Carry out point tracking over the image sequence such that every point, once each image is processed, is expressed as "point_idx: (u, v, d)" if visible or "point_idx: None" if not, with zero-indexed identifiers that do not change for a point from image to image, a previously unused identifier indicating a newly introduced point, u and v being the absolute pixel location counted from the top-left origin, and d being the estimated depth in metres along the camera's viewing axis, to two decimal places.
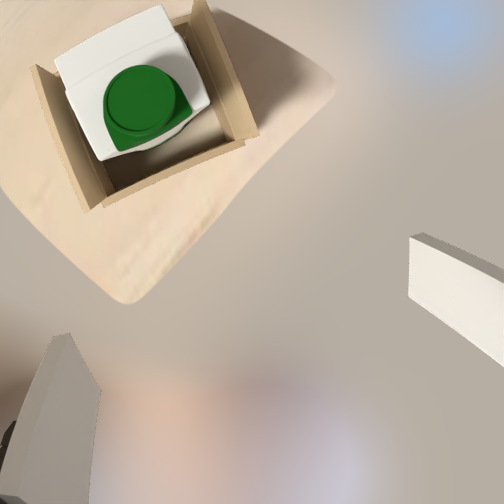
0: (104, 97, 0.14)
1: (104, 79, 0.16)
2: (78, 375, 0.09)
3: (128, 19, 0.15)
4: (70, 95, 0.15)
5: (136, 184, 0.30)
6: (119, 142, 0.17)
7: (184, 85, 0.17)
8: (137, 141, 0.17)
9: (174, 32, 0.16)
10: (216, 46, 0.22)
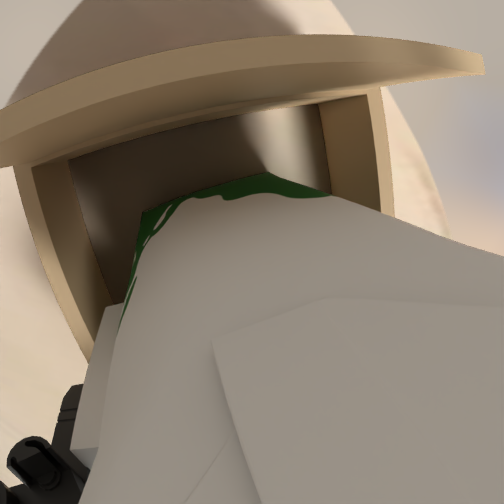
0: None
1: None
2: None
3: None
4: None
5: None
6: None
7: None
8: None
9: None
10: (156, 88, 0.05)
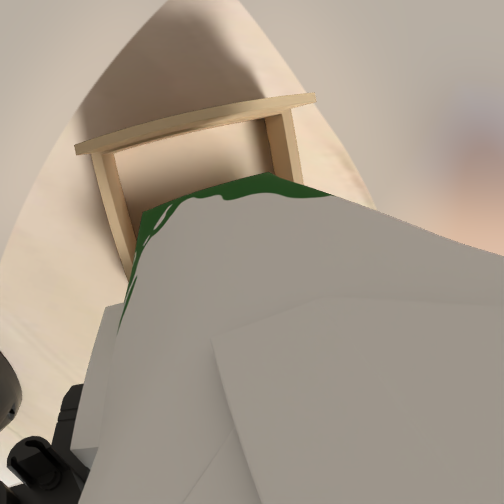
0: None
1: None
2: None
3: None
4: None
5: None
6: None
7: None
8: None
9: None
10: (171, 127, 0.16)
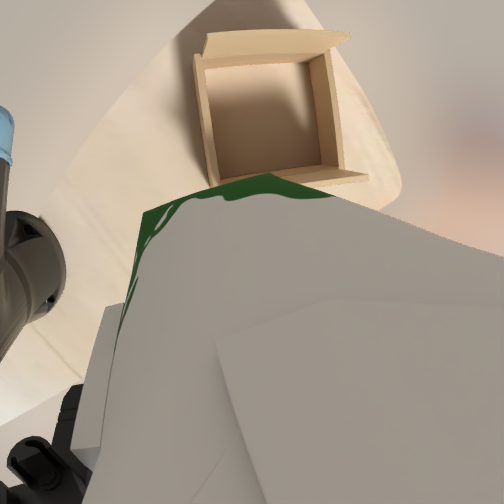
0: None
1: None
2: None
3: None
4: None
5: (337, 139, 0.35)
6: None
7: None
8: None
9: None
10: (268, 35, 0.25)
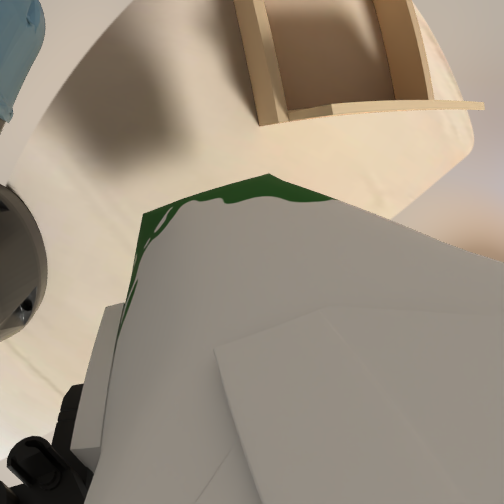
0: None
1: None
2: None
3: None
4: None
5: (423, 67, 0.22)
6: None
7: None
8: None
9: None
10: None
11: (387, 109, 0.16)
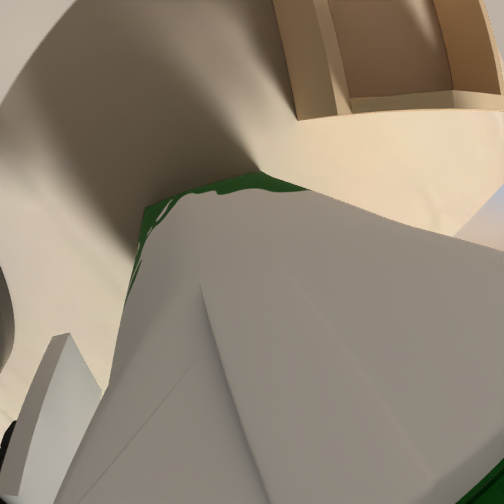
0: None
1: None
2: (78, 375, 0.09)
3: None
4: None
5: (495, 58, 0.15)
6: None
7: None
8: None
9: None
10: None
11: None
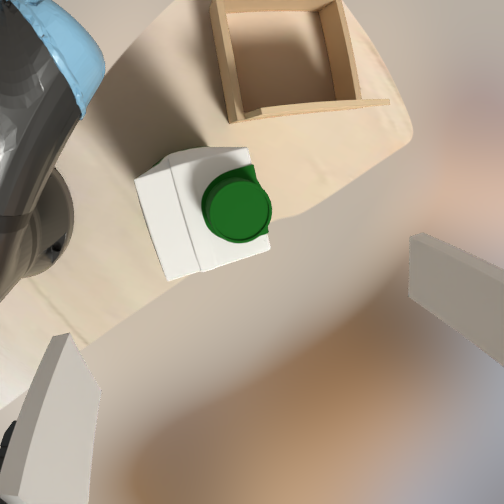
0: (231, 241, 0.20)
1: (203, 236, 0.22)
2: (78, 375, 0.09)
3: (145, 211, 0.20)
4: (208, 268, 0.23)
5: (353, 76, 0.33)
6: None
7: (226, 167, 0.21)
8: None
9: (169, 169, 0.20)
10: None
11: (301, 109, 0.27)
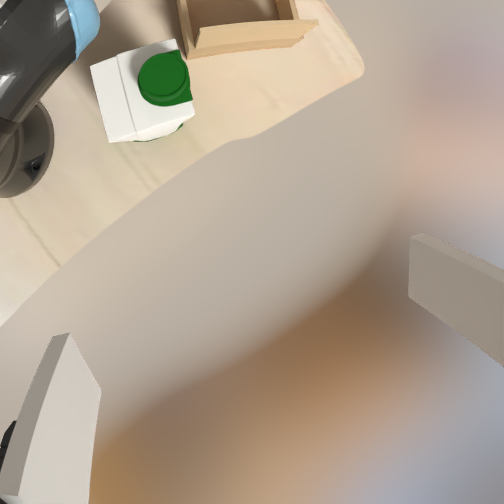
0: (155, 96, 0.22)
1: (138, 103, 0.24)
2: (78, 375, 0.09)
3: (95, 87, 0.23)
4: (141, 129, 0.25)
5: (293, 13, 0.35)
6: (186, 98, 0.25)
7: (158, 52, 0.23)
8: (189, 86, 0.24)
9: (116, 56, 0.22)
10: None
11: (233, 27, 0.29)
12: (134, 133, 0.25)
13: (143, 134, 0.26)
